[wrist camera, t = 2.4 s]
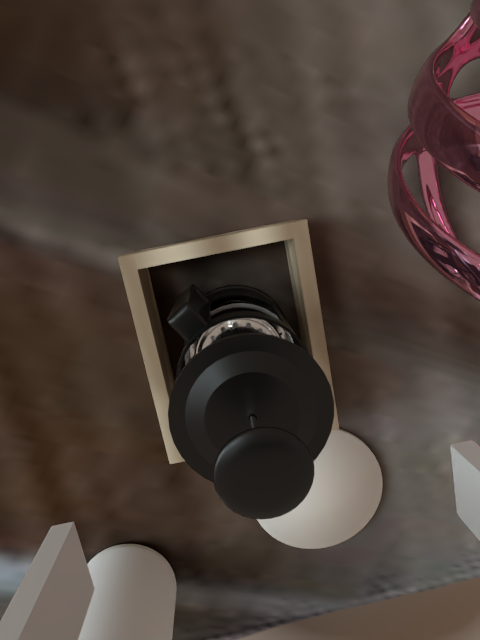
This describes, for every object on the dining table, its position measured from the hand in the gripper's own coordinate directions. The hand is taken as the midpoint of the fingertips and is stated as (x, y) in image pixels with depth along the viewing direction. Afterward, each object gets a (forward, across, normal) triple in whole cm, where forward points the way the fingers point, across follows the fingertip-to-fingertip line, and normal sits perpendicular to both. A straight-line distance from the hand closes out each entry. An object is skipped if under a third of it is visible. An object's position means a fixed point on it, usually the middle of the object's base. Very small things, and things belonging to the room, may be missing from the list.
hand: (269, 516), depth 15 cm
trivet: (+26, +5, -17) cm, 31 cm away
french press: (+26, 0, 0) cm, 26 cm away
